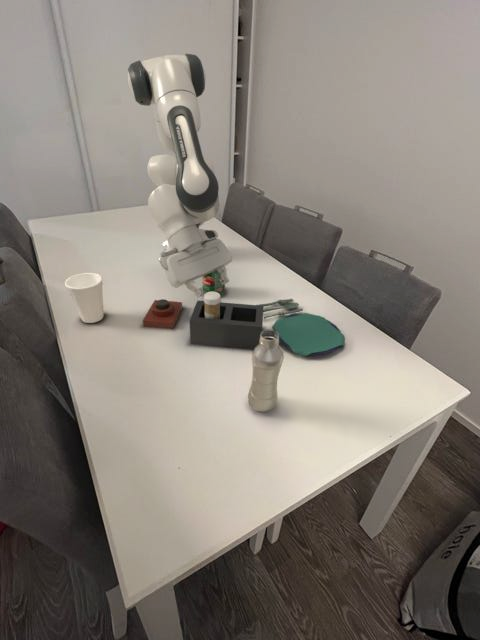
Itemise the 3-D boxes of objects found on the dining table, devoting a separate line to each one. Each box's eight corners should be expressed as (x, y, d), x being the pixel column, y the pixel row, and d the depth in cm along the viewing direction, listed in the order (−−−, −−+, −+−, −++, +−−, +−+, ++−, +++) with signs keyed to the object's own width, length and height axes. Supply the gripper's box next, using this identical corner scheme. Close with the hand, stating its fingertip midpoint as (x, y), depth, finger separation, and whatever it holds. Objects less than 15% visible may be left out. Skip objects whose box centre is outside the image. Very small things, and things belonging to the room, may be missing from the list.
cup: (116, 313, 106) (109, 276, 98) (95, 330, 98) (86, 291, 91) (90, 306, 108) (81, 270, 101) (67, 323, 100) (56, 284, 93)
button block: (155, 305, 111) (154, 295, 108) (182, 307, 110) (181, 297, 108) (143, 326, 101) (141, 315, 98) (173, 329, 100) (172, 317, 98)
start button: (158, 303, 105) (158, 298, 104) (170, 304, 105) (169, 299, 104) (155, 309, 102) (154, 304, 101) (167, 310, 102) (166, 305, 101)
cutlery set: (295, 366, 88) (296, 360, 87) (248, 309, 111) (248, 303, 110) (355, 349, 95) (357, 343, 94) (299, 298, 118) (300, 293, 117)
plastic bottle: (245, 394, 80) (250, 325, 68) (274, 393, 80) (283, 325, 69) (248, 416, 74) (254, 345, 63) (278, 415, 75) (289, 344, 64)
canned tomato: (228, 289, 121) (229, 261, 115) (218, 299, 115) (218, 270, 109) (209, 284, 124) (209, 257, 118) (198, 294, 118) (197, 265, 112)
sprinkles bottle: (223, 336, 98) (223, 296, 91) (209, 341, 96) (208, 300, 88) (215, 328, 101) (215, 289, 94) (202, 332, 99) (200, 293, 92)
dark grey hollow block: (198, 322, 103) (197, 300, 99) (261, 328, 102) (263, 305, 98) (190, 344, 94) (189, 320, 90) (260, 350, 93) (262, 327, 89)
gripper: (160, 249, 80) (190, 299, 81) (220, 229, 93) (245, 272, 94) (151, 260, 85) (179, 307, 86) (209, 240, 98) (233, 281, 99)
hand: (214, 289), depth 90 cm, fingers open, 8 cm apart
